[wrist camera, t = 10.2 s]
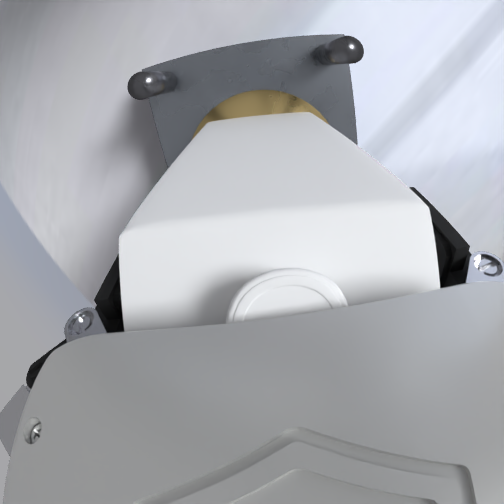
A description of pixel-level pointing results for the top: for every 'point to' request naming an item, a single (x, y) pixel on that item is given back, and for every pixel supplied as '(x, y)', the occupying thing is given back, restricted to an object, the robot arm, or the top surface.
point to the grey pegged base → (251, 85)
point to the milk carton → (271, 229)
